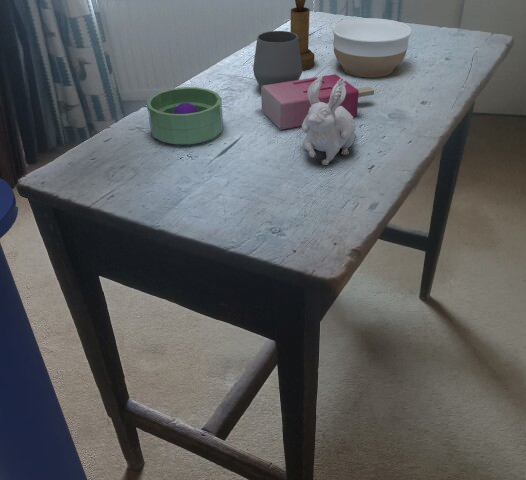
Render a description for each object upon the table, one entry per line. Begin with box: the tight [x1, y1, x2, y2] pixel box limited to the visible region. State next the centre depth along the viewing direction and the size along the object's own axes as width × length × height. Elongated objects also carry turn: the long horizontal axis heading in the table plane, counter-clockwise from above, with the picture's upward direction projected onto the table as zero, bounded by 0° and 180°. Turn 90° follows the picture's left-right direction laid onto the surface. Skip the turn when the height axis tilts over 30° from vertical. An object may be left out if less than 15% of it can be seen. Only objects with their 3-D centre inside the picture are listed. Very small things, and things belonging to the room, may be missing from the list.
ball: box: [173, 103, 198, 114], centre depth 99 cm, size 4×4×4 cm
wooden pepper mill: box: [289, 0, 315, 71], centre depth 121 cm, size 7×6×18 cm
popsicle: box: [260, 73, 375, 131], centre depth 105 cm, size 9×5×20 cm
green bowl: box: [146, 86, 224, 146], centre depth 99 cm, size 12×12×6 cm
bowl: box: [331, 17, 413, 78], centre depth 122 cm, size 16×16×8 cm
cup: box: [252, 30, 303, 89], centre depth 112 cm, size 10×9×10 cm
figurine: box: [301, 74, 357, 166], centre depth 91 cm, size 8×15×13 cm, turn 157°
